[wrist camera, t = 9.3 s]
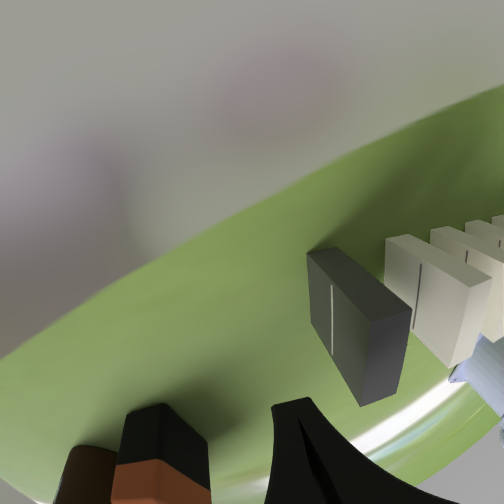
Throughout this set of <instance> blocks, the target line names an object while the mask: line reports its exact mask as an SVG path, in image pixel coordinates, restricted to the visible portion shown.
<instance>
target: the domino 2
mask: <svg viewBox="0 0 504 504" xmlns="http://www.w3.org/2000/svg"><path fill="white" fill-rule="evenodd" d="M492 280H493V278H492V277H490V276H489V275H487V274H485V273H483V272H482V271H480V270H478V269H476V268H474V267H472V266H471V265H469V264H467V263H465V262H463V261H461V260H459V259H458V258H456V257H454V256H452V255H450V254H448V253H446V252H444V251H442V250H440V249H438V248H436V247H434V246H432V245H430V244H428V243H426V242H424V241H422V240H420V239H418V238H416V237H414V236H412V235H410V234H405V235H400V236H395V237H390V238H385V274H384V285H385V286H386V287H387V288H388V289H390V290H391V291H392V292H393V293H394V294H396V295H397V296H398V297H399V298H400V299H402V300H403V301H404V302H405V303H406V304H408V305H409V306H410V307H411V308H412V309H413V310H412V317H411V324H410V331H411V332H412V333H413V334H414V335H415V336H416V337H417V338H418V339H419V340H420V341H421V342H422V343H423V344H424V345H425V346H426V347H427V348H428V349H429V350H430V351H431V352H432V353H433V354H434V355H435V356H436V357H437V358H438V359H439V360H440V361H441V362H442V363H443V364H444V365H445V366H446V367H447V368H448V369H450V368H451V367H453V366H455V365H457V364H459V363H461V362H462V361H464V360H466V359H468V358H469V357H471V356H472V354H473V351H474V348H475V345H476V342H477V339H478V336H479V332H480V329H481V326H482V322H483V318H484V315H485V311H486V307H487V303H488V298H489V294H490V289H491V285H492Z"/></svg>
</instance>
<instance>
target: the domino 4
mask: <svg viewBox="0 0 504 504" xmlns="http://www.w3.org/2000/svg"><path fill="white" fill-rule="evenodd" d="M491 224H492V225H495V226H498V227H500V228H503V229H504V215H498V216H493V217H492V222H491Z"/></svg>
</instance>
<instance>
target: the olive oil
mask: <svg viewBox="0 0 504 504" xmlns="http://www.w3.org/2000/svg"><path fill="white" fill-rule="evenodd" d="M117 458H118V454H117V453H114V452H111V451H108V450H105V449H101V448H96V447H90V446H79V447H75V448H73V449H72V450H71V451H70V453H69V456H68V459H67V461H66V464H65V467H64V471H63V474H62V477H61V479H60V482H59V486H58V489H57V492H56V495H55V498H54V501H53V504H112V503H111V494H112V487H113V481H114V475H115V469H116V464H117Z"/></svg>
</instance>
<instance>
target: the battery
mask: <svg viewBox="0 0 504 504" xmlns="http://www.w3.org/2000/svg"><path fill="white" fill-rule="evenodd" d="M111 503H112V504H212V501H211V489H210V475H209V459H208V444H207V442H206V441H205V440H204V439H203V438H202V437H201V436H199V435H198V434H197V433H196V432H195V431H194V430H193V429H192V428H190V427H189V426H188V425H187V424H186V423H185V422H184V421H183V420H182V419H181V418H180V417H179V416H178V415H177V414H176V413H175V412H173V411H172V410H171V409H170V408H169V407H168V406H167V405H166V404H159V405H156V406H153V407H150V408H147V409H143V410H140V411H137V412H133V413H130V414H127V416H126V419H125V424H124V428H123V433H122V438H121V443H120V448H119V453H118V458H117V464H116V469H115V475H114V481H113V487H112V494H111Z"/></svg>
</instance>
